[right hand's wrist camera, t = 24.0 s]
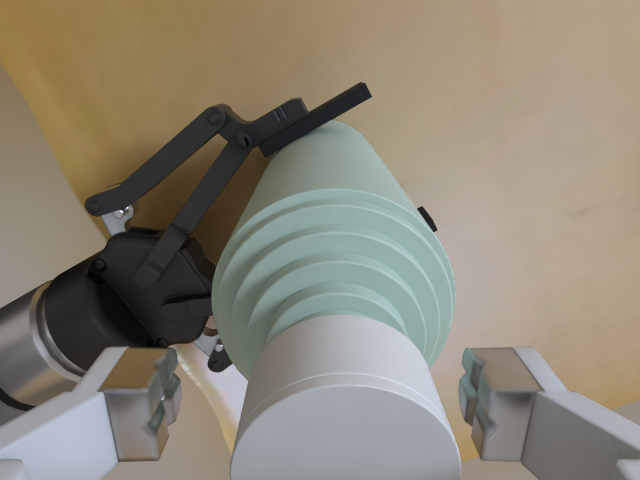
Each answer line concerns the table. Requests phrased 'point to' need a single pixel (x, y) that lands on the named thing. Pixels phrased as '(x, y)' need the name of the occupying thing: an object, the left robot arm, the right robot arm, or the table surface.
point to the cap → (343, 408)
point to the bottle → (330, 251)
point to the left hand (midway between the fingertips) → (398, 156)
